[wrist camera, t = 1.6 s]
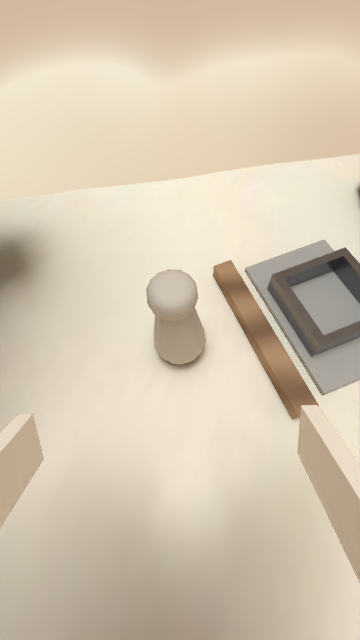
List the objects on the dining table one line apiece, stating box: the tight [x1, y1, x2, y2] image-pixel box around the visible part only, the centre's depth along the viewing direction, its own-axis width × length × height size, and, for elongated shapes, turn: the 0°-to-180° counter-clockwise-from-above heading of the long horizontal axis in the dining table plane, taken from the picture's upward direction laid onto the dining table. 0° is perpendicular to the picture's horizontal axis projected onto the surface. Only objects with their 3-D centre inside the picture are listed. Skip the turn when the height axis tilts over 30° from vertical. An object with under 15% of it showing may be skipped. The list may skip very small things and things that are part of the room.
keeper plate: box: [245, 240, 360, 395], centre depth 35 cm, size 18×12×4 cm, turn 21°
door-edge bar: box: [213, 260, 319, 419], centre depth 34 cm, size 20×2×2 cm, turn 21°
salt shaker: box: [147, 270, 206, 364], centre depth 29 cm, size 6×6×13 cm
